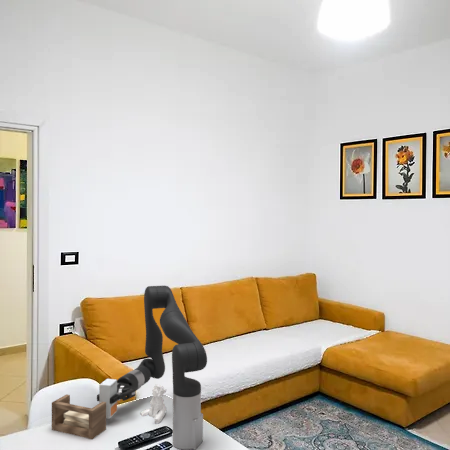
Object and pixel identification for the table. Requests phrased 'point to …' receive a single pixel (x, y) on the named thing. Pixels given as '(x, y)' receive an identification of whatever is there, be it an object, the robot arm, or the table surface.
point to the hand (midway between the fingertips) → (104, 399)
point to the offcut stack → (76, 419)
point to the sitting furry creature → (156, 405)
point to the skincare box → (108, 396)
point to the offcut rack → (95, 414)
